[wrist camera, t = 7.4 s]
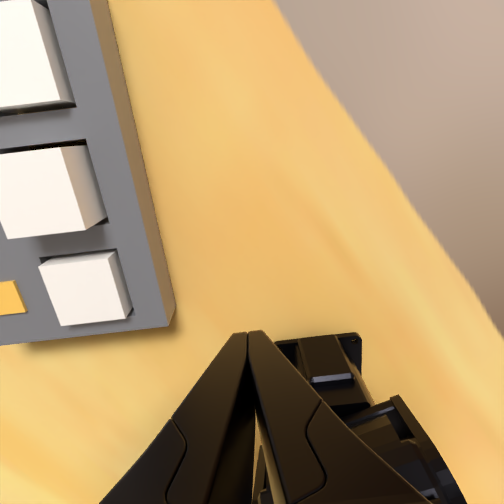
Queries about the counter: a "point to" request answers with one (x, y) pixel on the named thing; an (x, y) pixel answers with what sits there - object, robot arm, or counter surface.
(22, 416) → the counter surface
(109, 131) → the keyguard plate
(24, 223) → the middle key
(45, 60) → the key
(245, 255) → the counter surface
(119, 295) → the key
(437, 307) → the counter surface
